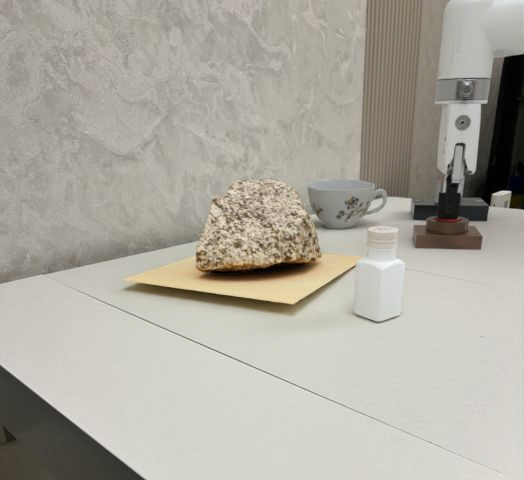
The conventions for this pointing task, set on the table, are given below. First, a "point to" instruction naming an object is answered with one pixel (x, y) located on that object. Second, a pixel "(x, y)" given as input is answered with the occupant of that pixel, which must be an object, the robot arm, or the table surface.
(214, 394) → the table surface
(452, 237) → the button block
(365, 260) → the salt shaker
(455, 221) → the button
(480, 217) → the faucet plate
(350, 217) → the teacup
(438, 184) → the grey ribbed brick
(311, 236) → the rock
